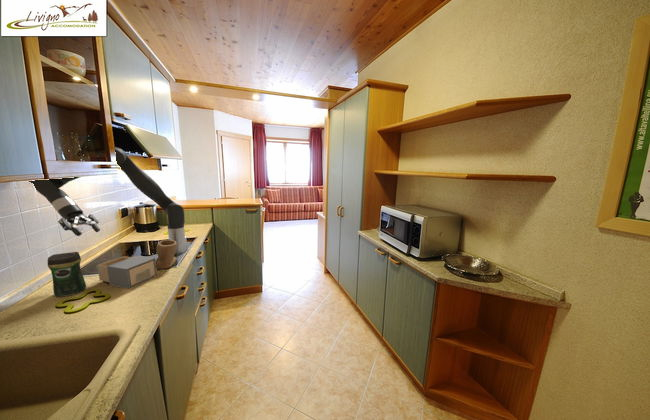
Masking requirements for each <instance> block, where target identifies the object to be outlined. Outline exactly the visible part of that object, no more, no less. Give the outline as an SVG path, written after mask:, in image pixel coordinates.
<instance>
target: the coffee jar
mask: <svg viewBox="0 0 650 420" xmlns="http://www.w3.org/2000/svg"><path fill="white" fill-rule="evenodd" d="M81 261H82V258H81V255H80V253H79V252H78V251H72V252H71V251H70V252H64V253H56V254H55V253H54V254H52V255H50V256H49V257H48V258H47V267H48V269H49V270H50V272H51V276H52V277H51V278H52V285H53V286H52V287H53V288H52V289H53V295H54V297H58V298H60V297H65V296H69V295H70V296H71V295H75V294H79V293H80V292H82V291H84V290H85V289H86V288H87V283H86V281H85V278H84V276H83V272H82V268H81Z"/></svg>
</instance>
